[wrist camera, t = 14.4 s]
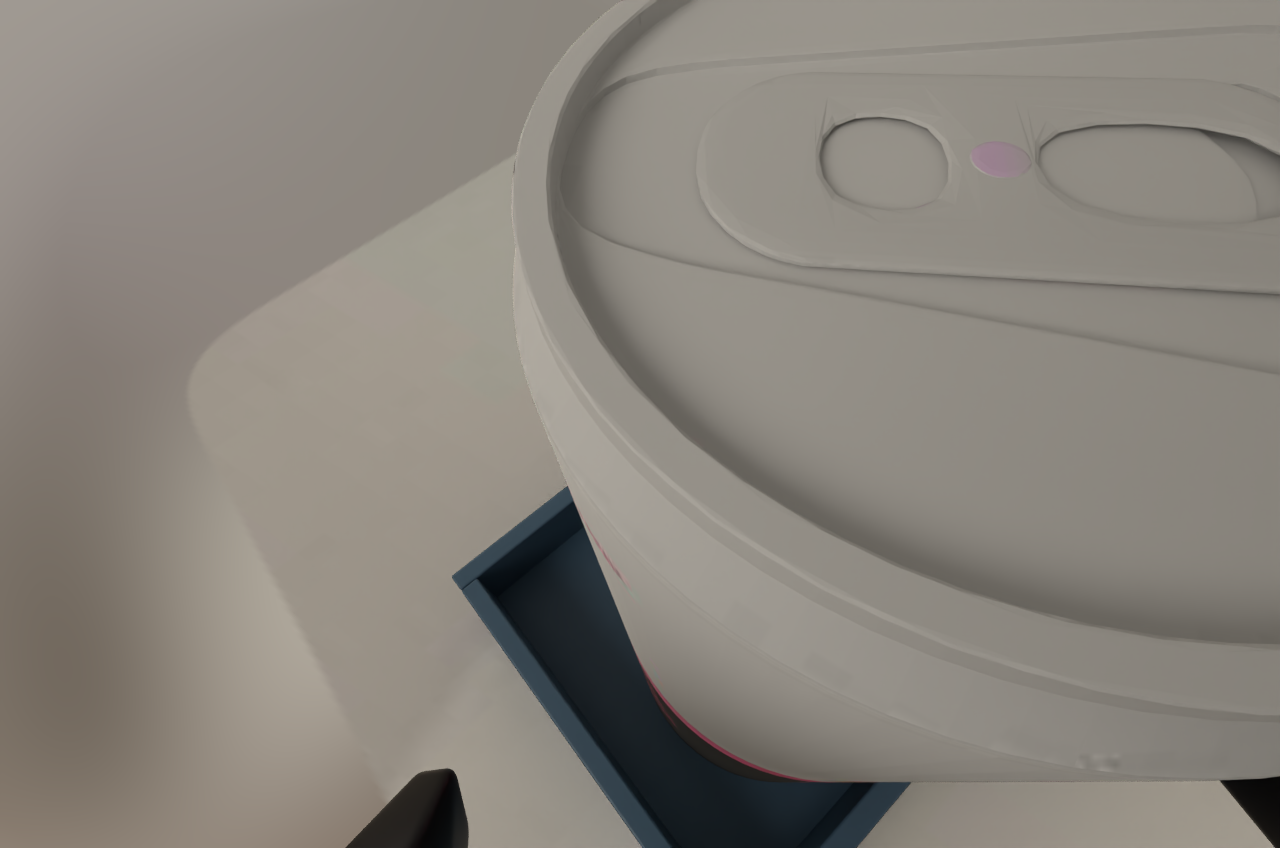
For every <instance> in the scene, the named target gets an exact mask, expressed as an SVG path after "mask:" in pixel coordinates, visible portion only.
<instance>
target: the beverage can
mask: <svg viewBox="0 0 1280 848" xmlns="http://www.w3.org/2000/svg"><path fill="white" fill-rule="evenodd" d="M511 205H512V225H513V233H514V241H515V248H516V251H515V259H514V270H513V315H514V323H515V331H516V340H517V344H518V349H519V353H520V358H521V362H522V367H523V371H524V374H525V377H526V380H527V383H528V386H529V389H530V392H531V395H532V398H533V401H534V404H535V406H536V409H537V411H538V414H539V416H540V418H541V421H542V423H543V426H544V428H545V431H546V433H547V436H548V438H549V441H550V443H551V446H552V448H553V451H554V453H555V456H556V458H557V460H558V463H559V465H560V468H561V470H562V473H563V475H564V478H565V480H566V483H567V485H568V488H569V490H570V493H571V495H572V498H573V500H574V502H575V505H576V507H577V510H578V512H579V515H580V517H581V520H582V522H583V525H584V527H585V530H586V532H587V535H588V537H589V539H590V542H591V544H592V547H593V549H594V552H595V554H596V557H597V559H598V562H599V564H600V567H601V569H602V572H603V574H604V577H605V579H606V581H607V584H608V586H609V589H610V591H611V594H612V596H613V599H614V601H615V604H616V606H617V609H618V611H619V614H620V616H621V619H622V621H623V623H624V626H625V628H626V631H627V633H628V636H629V638H630V641H631V643H632V646H633V648H634V651H635V653H636V656H637V658H638V661H639V663H640V665H641V668H642V670H643V673H644V675H645V678H646V680H647V683H648V685H649V688H650V690H651V692H652V695H653V697H654V699H655V701H656V703H657V705H658V707H659V709H660V711H661V712H662V714H663V716H664V717H665V719H666V720H667V722H668V723H669V724H670V726H671V727H672V728H673V730H674V731H675V732H676V733H677V734H678V735H679V737H680V738H681V739H682V740H683V741H684V742H685V743H686V744H687V745H688V746H690V747H691V748H692V749H693V750H694V751H695V752H697V753H698V754H699V755H701V756H702V757H703V758H705V759H706V760H708V761H709V762H711V763H713V764H714V765H716V766H718V767H720V768H722V769H724V770H726V771H728V772H731V773H733V774H736V775H739V776H742V777H745V778H749V779H753V780H758V781H765V782H779V783H793V782H1091V781H1214V780H1238V779H1261V778H1269V777H1277V776H1280V0H621V1H620V2H619V3H617V4H616V5H615V6H613V7H612V8H611V9H610V10H608V11H607V12H606V13H605V14H603V15H602V16H601V17H600V18H598V19H597V20H596V21H595V22H594V23H593V24H592V25H591V26H590V27H589V28H588V29H587V30H586V31H585V32H584V33H583V34H582V35H581V36H580V37H579V38H578V39H577V40H576V41H575V43H574V44H573V45H572V46H571V47H570V48H569V49H568V50H567V52H566V53H565V54H564V55H563V57H562V58H561V59H560V61H559V62H558V63H557V65H556V66H555V67H554V68H553V70H552V71H551V73H550V74H549V76H548V78H547V80H546V81H545V83H544V85H543V87H542V88H541V90H540V92H539V94H538V96H537V98H536V100H535V102H534V104H533V106H532V108H531V110H530V113H529V115H528V118H527V120H526V123H525V126H524V128H523V131H522V134H521V137H520V140H519V145H518V149H517V154H516V159H515V163H514V171H513V180H512V189H511Z"/></svg>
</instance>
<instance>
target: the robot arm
mask: <svg viewBox="0 0 1280 848" xmlns="http://www.w3.org/2000/svg"><path fill="white" fill-rule="evenodd" d="M1220 781H1221V783H1222V784H1223V785H1224V786H1225V788H1226V789H1227V790H1228V791H1229V792H1230V794H1231V795H1232V796H1233V797H1234V798H1235V800H1236V801H1237V802H1238V803H1239V805H1240V806H1241V807H1242V808H1243V809H1244V811H1245V812H1246V813H1247V814H1248V815H1249V817H1250V818H1251V819H1252V820H1253V822H1254V823H1255V824H1256V825H1257V826H1258V828H1259V829H1260V830H1261V831H1262V832H1263V834H1264V835H1265V836H1266V837H1267V839H1268V840H1269V841H1270V842H1271V843H1272V845H1273V846H1274V847H1275V848H1280V776H1277V777H1269V778H1261V779H1238V780H1220ZM468 837H469V830H468V821H467V817H466V813H465V808H464V804H463V800H462V796H461V792H460V787H459V783H458V779H457V776H456V774H455V772H454V771H453V770H451V769H439V770H431V771H424V772H421V773H419V774H417V775H416V776H415V777H413V778H412V779H411V780H410V781H409V783H408V784H407V785H406V786H405V787H404V788H403V789H402V790H401V791H400V792H399V793H398V794H397V795H396V796H395V797H394V798H393V799H392V800H391V801H390V802H389V803H388V804H387V805H386V806H385V807H384V808H383V809H382V810H381V811H380V813H379V814H378V815H377V816H376V817H375V818H374V819H373V820H372V821H371V822H370V823H369V824H368V825H367V826H366V827H365V828H364V829H363V830H362V831H361V832H360V833H359V834H358V835H357V836H356V837H355V838H354V839H353V841H352V842H351V843H350V844H349V845H348V846H347V847H346V848H468Z"/></svg>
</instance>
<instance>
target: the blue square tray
mask: <svg viewBox="0 0 1280 848" xmlns="http://www.w3.org/2000/svg"><path fill="white" fill-rule="evenodd" d="M452 578H453V580H454V581H455V583H456V584H457V585H458V587H459V588H460V589H461V590H462V592H463V594H464V595H465V597H466V598H467V600H468V601H469V602H470V604H471V605H472V607H473V608H474V610H475V611H476V612H477V614H478V615H479V617H480V618H481V619H482V621H483V622H484V624H485V625H486V627H487V628H488V629H489V631H490V632H491V634H492V635H493V637H494V638H495V639H496V641H497V642H498V644H499V645H500V646H501V648H502V649H503V651H504V652H505V654H506V655H507V656H508V658H509V659H510V661H511V662H512V663H513V665H514V666H515V668H516V669H517V671H518V672H519V673H520V675H521V676H522V678H523V679H524V680H525V682H526V683H527V685H528V686H529V688H530V689H531V690H532V692H533V693H534V695H535V696H536V698H537V699H538V700H539V702H540V703H541V705H542V706H543V707H544V709H545V710H546V712H547V713H548V715H549V716H550V717H551V719H552V720H553V722H554V723H555V724H556V726H557V727H558V729H559V730H560V732H561V733H562V734H563V736H564V737H565V739H566V740H567V741H568V743H569V744H570V746H571V747H572V749H573V750H574V751H575V753H576V754H577V756H578V757H579V759H580V760H581V761H582V763H583V764H584V766H585V767H586V768H587V770H588V771H589V773H590V774H591V776H592V777H593V778H594V780H595V781H596V783H597V784H598V785H599V787H600V788H601V790H602V791H603V793H604V794H605V795H606V797H607V798H608V800H609V801H610V802H611V804H612V805H613V807H614V808H615V810H616V811H617V812H618V814H619V815H620V817H621V818H622V820H623V821H624V822H625V824H626V825H627V827H628V828H629V829H630V831H631V832H632V834H633V835H634V837H635V838H636V839H637V841H638V842H639V844H640V845H641V846H642V848H857V847H858V845H859V844H860V843H861V842H862V841H863V839H864V838H865V837H866V836H867V835H868V833H869V832H870V831H871V830H872V829H873V828H874V826H875V825H876V824H877V823H878V822H879V820H880V819H881V818H882V817H883V816H884V814H885V813H886V812H887V811H888V810H889V808H890V807H891V806H892V805H893V804H894V802H895V801H896V800H897V799H898V798H899V796H900V795H901V794H902V793H903V792H904V790H905V789H906V788H907V787H908V786H909V784H910V783H911V782H793V783H779V782H765V781H758V780H753V779H749V778H745V777H742V776H739V775H736V774H733V773H731V772H728V771H726V770H724V769H722V768H720V767H718V766H716V765H714V764H713V763H711V762H709V761H708V760H706V759H705V758H703V757H702V756H701V755H699V754H698V753H697V752H695V751H694V750H693V749H692V748H691V747H690V746H688V745H687V744H686V743H685V742H684V741H683V740H682V739H681V738H680V737H679V735H678V734H677V733H676V732H675V731H674V730H673V728H672V727H671V726H670V724H669V723H668V722H667V720H666V719H665V717H664V716H663V714H662V712H661V711H660V709H659V707H658V705H657V703H656V701H655V699H654V697H653V695H652V692H651V690H650V688H649V685H648V683H647V680H646V678H645V675H644V673H643V670H642V668H641V665H640V663H639V661H638V658H637V656H636V653H635V651H634V648H633V646H632V643H631V641H630V638H629V636H628V633H627V631H626V628H625V626H624V623H623V621H622V619H621V616H620V614H619V611H618V609H617V606H616V604H615V601H614V599H613V596H612V594H611V591H610V589H609V586H608V584H607V581H606V579H605V577H604V574H603V572H602V569H601V567H600V564H599V562H598V559H597V557H596V554H595V552H594V549H593V547H592V544H591V542H590V539H589V537H588V535H587V532H586V530H585V527H584V525H583V522H582V520H581V517H580V515H579V512H578V510H577V507H576V505H575V502H574V500H573V498H572V495H571V493H570V490H569V488H568V486H567V487H565V488H564V489H563V490H562V491H560V492H559V493H558V494H556V495H555V496H554V497H553V498H551V499H550V500H549V501H547V502H546V503H545V504H544V505H542V506H541V507H540V508H538V509H537V510H536V511H535V512H533V513H532V514H531V515H529V516H528V517H527V518H526V519H524V520H523V521H522V522H520V523H519V524H518V525H517V526H515V527H514V528H513V529H511V530H510V531H509V532H508V533H506V534H505V535H504V536H502V537H501V538H500V539H499V540H497V541H496V542H495V543H493V544H492V545H491V546H490V547H488V548H487V549H486V550H484V551H483V552H482V553H481V554H479V555H478V556H477V557H476V558H474V559H473V560H472V561H470V562H469V563H468V564H467V565H465V566H464V567H463V568H461V569H460V570H459V571H458V572H456V573H455V574H454V575H453V576H452Z"/></svg>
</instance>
